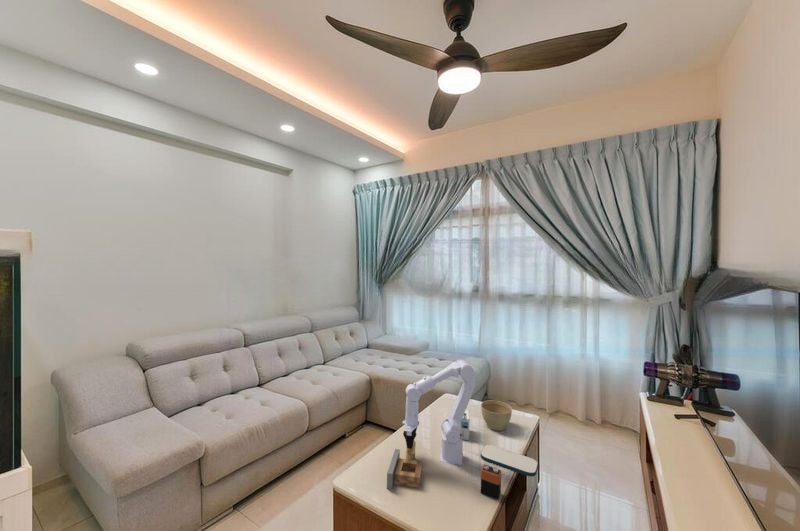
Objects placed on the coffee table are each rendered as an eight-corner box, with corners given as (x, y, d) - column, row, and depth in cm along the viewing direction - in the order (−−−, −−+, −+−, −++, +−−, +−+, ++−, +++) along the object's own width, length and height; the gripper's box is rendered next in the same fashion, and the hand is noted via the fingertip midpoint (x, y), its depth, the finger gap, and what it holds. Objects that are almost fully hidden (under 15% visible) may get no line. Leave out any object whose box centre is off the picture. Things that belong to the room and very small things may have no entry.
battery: (498, 500, 116) (499, 473, 116) (480, 493, 119) (481, 467, 119) (500, 493, 120) (501, 467, 120) (483, 486, 123) (483, 461, 123)
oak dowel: (415, 457, 140) (416, 440, 140) (414, 463, 136) (414, 445, 136) (406, 456, 141) (407, 439, 141) (405, 462, 137) (405, 444, 137)
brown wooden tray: (422, 471, 130) (422, 461, 130) (419, 488, 121) (419, 477, 121) (398, 467, 132) (399, 458, 132) (394, 483, 122) (394, 473, 122)
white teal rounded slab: (478, 459, 141) (478, 455, 141) (485, 447, 151) (485, 443, 151) (535, 480, 129) (535, 475, 129) (538, 464, 138) (539, 460, 138)
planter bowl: (514, 424, 172) (515, 405, 172) (507, 438, 158) (507, 416, 158) (485, 416, 181) (486, 397, 180) (476, 428, 167) (477, 408, 167)
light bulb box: (469, 440, 155) (469, 419, 155) (455, 438, 156) (456, 417, 156) (468, 429, 165) (469, 409, 165) (455, 427, 167) (456, 407, 167)
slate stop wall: (399, 464, 135) (399, 449, 135) (391, 490, 120) (392, 474, 119) (394, 463, 136) (395, 448, 136) (386, 489, 120) (387, 473, 120)
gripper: (405, 404, 146) (404, 433, 146) (400, 419, 132) (399, 451, 132) (420, 406, 145) (419, 435, 145) (416, 421, 131) (415, 453, 131)
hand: (410, 443), depth 138 cm, fingers open, 7 cm apart
